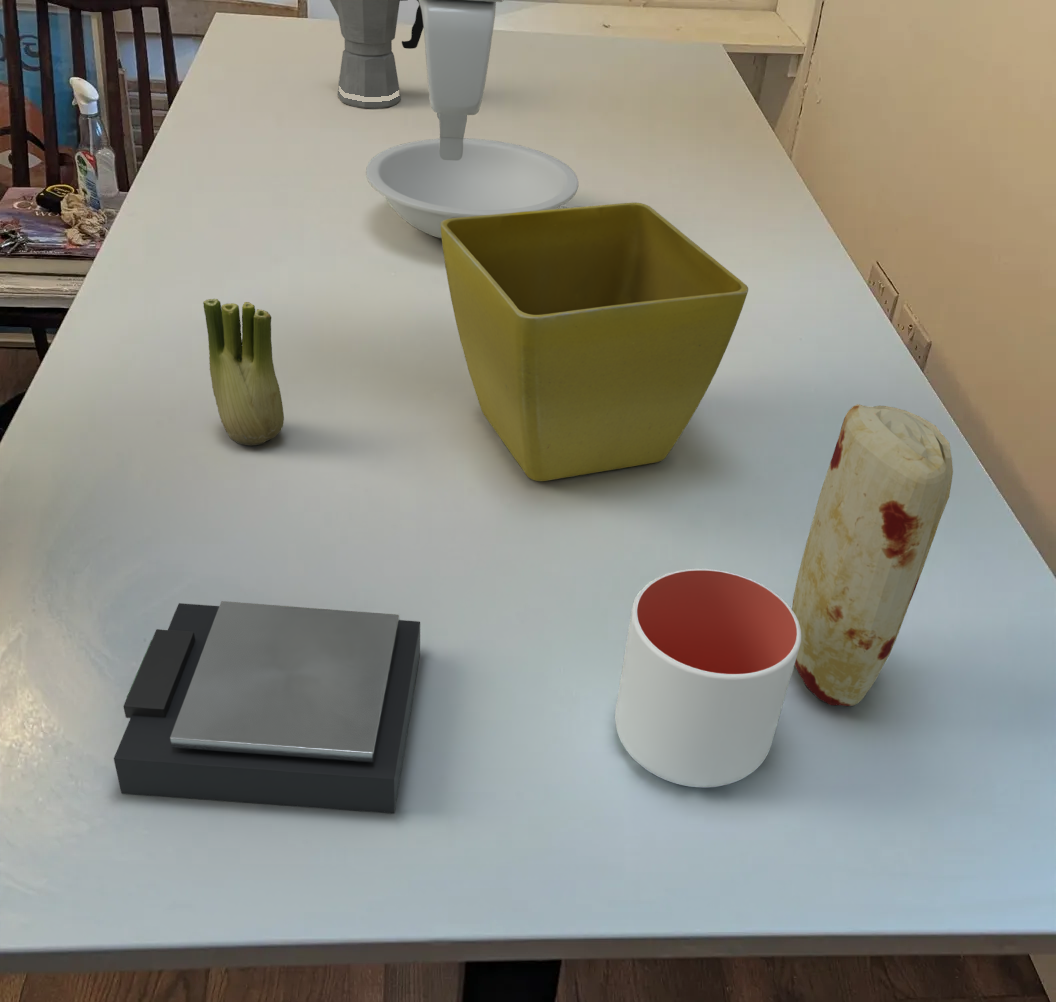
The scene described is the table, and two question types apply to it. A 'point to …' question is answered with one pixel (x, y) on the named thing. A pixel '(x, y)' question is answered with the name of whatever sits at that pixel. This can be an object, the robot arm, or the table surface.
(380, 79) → the coffeepot
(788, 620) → the cup
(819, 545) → the food model
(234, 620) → the scale pan
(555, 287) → the flower pot
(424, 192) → the soup bowl
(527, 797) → the table surface
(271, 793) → the scale
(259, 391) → the fennel bulb
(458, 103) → the robot arm
